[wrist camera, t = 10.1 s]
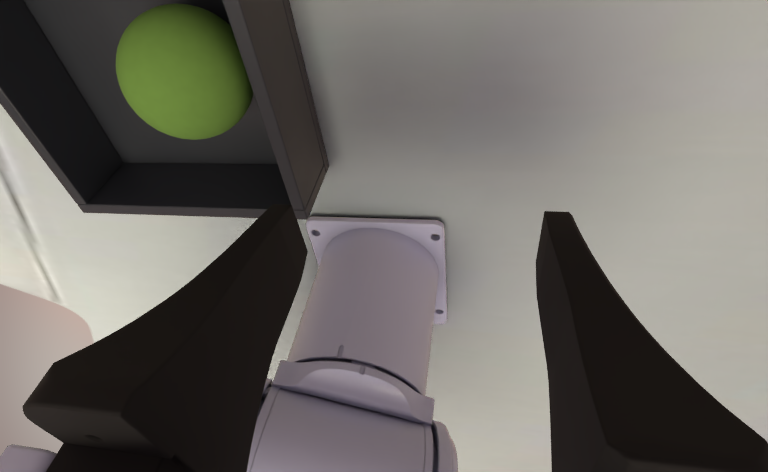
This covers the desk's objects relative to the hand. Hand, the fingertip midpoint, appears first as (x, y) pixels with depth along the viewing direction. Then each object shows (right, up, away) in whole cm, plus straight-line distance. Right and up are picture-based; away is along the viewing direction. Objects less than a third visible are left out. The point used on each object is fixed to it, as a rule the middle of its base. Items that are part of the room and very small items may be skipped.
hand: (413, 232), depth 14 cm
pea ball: (-10, +8, +6) cm, 14 cm away
